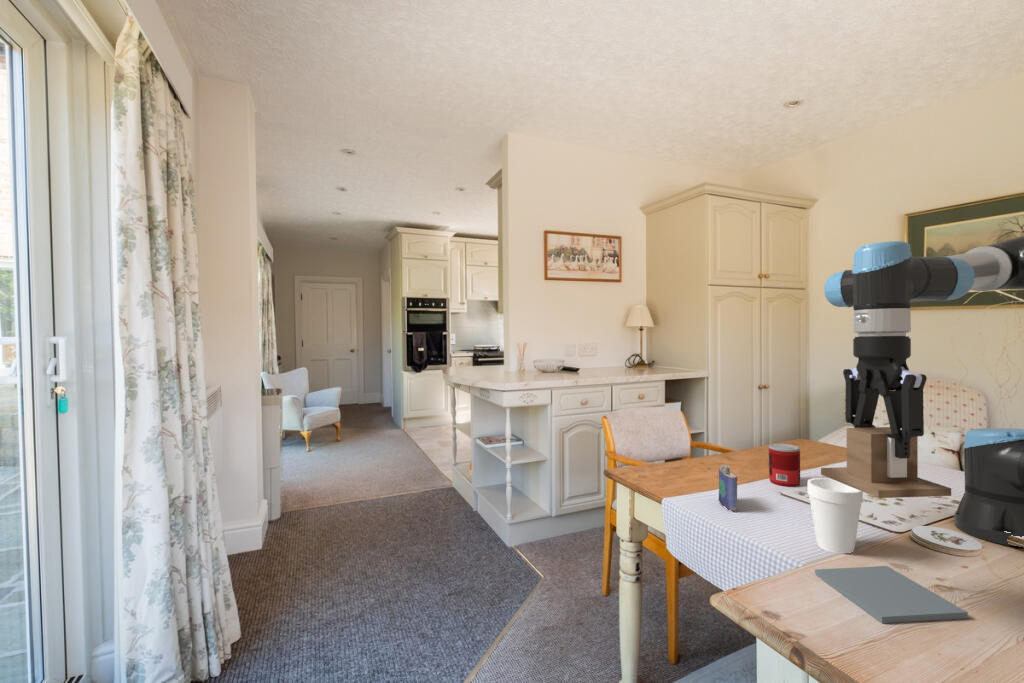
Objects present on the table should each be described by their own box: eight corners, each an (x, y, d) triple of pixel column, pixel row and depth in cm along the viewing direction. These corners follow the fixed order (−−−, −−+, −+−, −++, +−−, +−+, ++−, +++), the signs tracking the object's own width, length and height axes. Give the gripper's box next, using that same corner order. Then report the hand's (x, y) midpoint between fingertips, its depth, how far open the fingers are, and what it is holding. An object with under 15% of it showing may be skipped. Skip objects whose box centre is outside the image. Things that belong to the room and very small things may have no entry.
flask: (739, 512, 112) (738, 470, 111) (727, 512, 112) (726, 469, 112) (727, 499, 121) (726, 460, 121) (715, 499, 121) (714, 459, 121)
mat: (887, 571, 83) (886, 565, 83) (967, 618, 69) (967, 612, 69) (815, 574, 82) (815, 569, 82) (882, 623, 68) (881, 616, 68)
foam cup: (847, 562, 87) (847, 495, 86) (798, 543, 95) (798, 482, 95) (872, 550, 91) (871, 487, 91) (823, 533, 99) (823, 475, 99)
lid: (883, 472, 82) (883, 423, 82) (951, 495, 70) (951, 437, 70) (820, 474, 81) (820, 424, 81) (878, 498, 69) (878, 439, 69)
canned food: (806, 487, 129) (805, 449, 129) (778, 487, 129) (778, 449, 129) (790, 478, 136) (789, 443, 136) (764, 479, 137) (763, 443, 136)
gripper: (820, 335, 84) (820, 457, 84) (910, 334, 66) (911, 490, 66) (858, 335, 84) (858, 456, 85) (958, 334, 66) (958, 488, 67)
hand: (881, 471), depth 75 cm, fingers closed on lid, 5 cm apart
